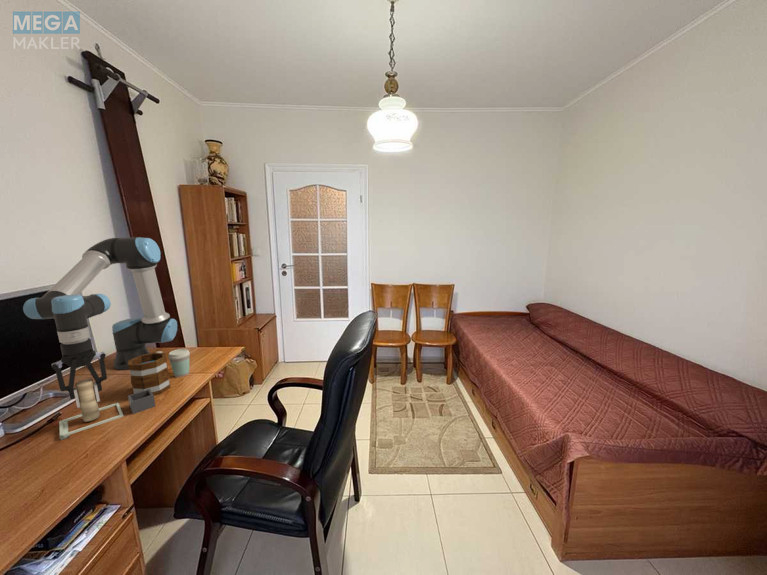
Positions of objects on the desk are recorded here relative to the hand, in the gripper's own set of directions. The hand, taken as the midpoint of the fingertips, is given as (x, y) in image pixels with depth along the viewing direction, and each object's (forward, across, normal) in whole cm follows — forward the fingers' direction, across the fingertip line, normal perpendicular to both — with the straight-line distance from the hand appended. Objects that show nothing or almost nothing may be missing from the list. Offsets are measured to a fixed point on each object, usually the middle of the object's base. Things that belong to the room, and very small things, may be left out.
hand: (88, 402), depth 108 cm
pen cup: (+7, +14, -4) cm, 16 cm away
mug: (+7, +21, +12) cm, 25 cm away
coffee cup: (+7, +32, +16) cm, 37 cm away
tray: (+7, 0, 0) cm, 7 cm away
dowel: (+6, 0, 0) cm, 6 cm away
